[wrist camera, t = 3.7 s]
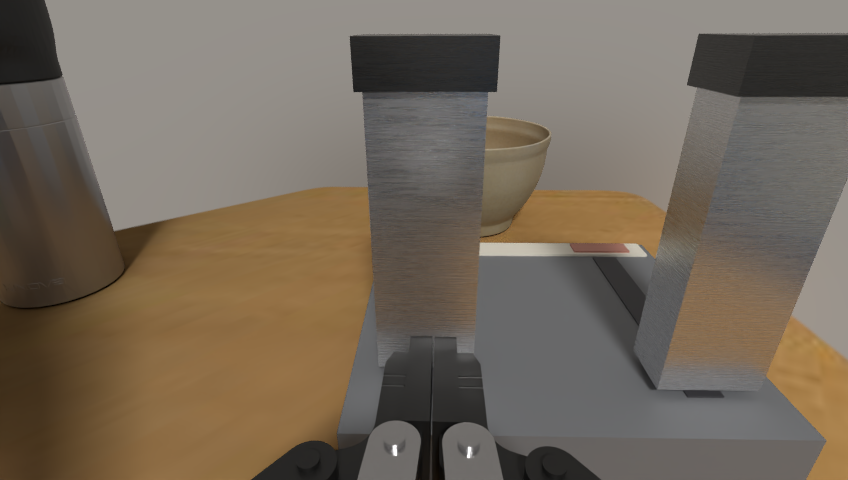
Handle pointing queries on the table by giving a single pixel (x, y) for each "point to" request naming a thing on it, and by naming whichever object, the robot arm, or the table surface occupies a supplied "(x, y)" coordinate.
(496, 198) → the planter bowl
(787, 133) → the lever
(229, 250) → the table surface
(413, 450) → the robot arm
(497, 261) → the switch unit
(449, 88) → the lever
